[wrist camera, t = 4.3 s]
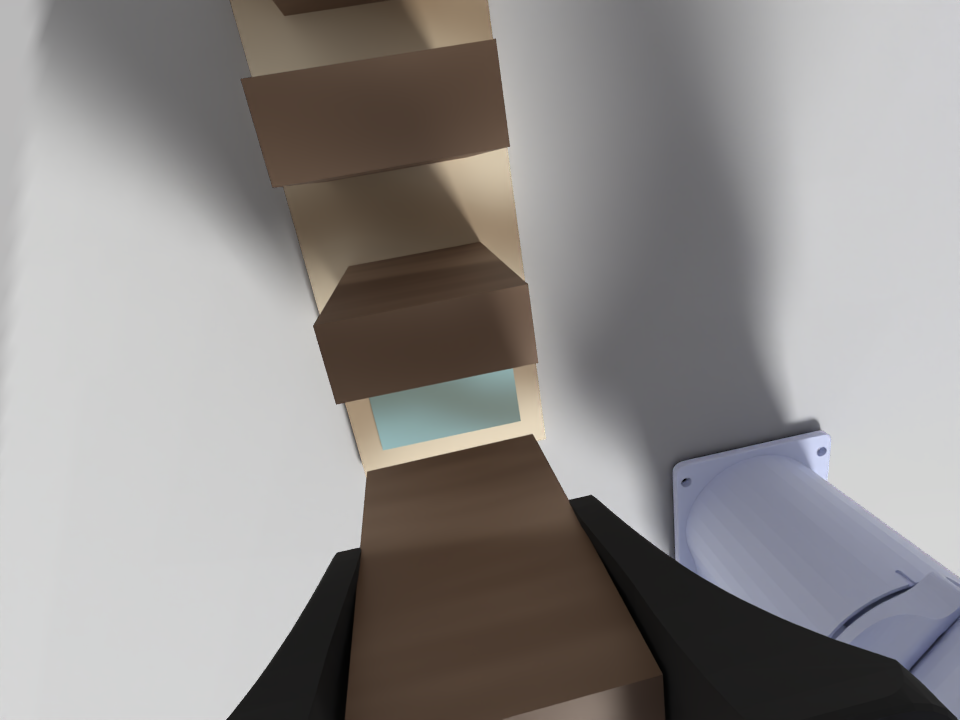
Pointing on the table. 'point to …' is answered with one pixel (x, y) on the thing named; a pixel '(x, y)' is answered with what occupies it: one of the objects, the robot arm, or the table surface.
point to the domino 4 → (489, 599)
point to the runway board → (402, 219)
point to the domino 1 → (316, 5)
